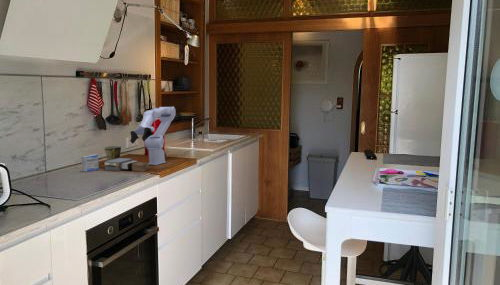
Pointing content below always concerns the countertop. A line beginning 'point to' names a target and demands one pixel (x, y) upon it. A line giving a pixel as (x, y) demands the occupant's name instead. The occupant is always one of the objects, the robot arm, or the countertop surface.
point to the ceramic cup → (112, 152)
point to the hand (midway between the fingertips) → (137, 141)
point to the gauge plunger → (126, 164)
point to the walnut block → (140, 166)
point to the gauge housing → (112, 163)
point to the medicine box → (90, 163)
